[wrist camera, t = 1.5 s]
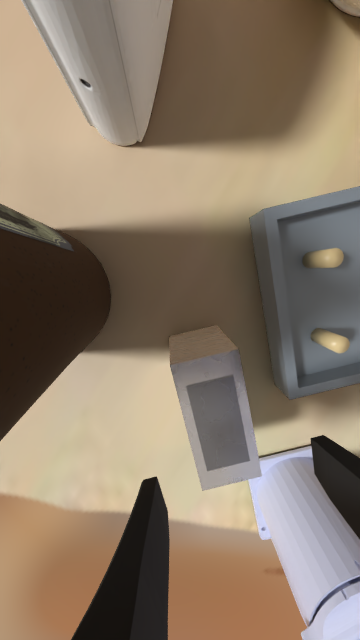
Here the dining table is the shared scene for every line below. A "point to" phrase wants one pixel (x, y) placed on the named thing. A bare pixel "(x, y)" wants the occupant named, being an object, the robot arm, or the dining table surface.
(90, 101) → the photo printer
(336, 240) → the tray
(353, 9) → the lidded bowl
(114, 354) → the dining table surface
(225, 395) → the block
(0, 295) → the olive oil
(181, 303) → the dining table surface
